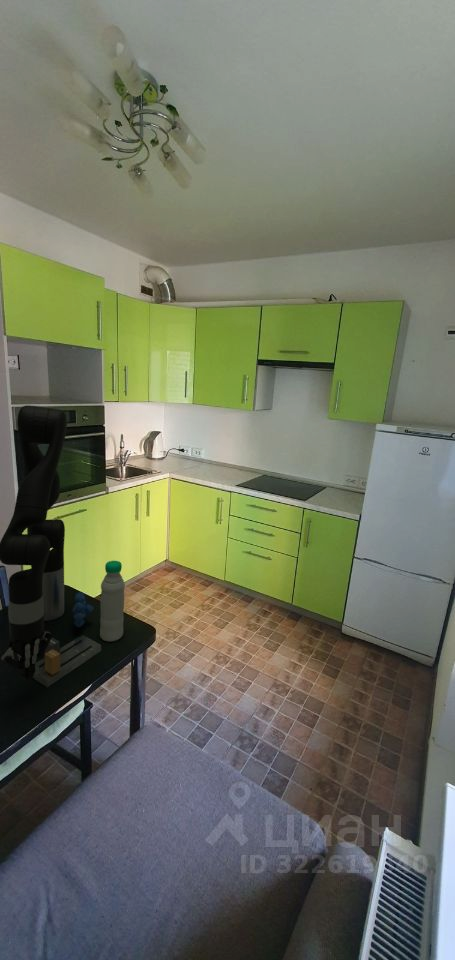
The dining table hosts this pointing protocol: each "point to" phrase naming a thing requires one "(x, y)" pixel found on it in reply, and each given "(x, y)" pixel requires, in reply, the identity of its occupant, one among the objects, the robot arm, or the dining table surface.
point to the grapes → (80, 609)
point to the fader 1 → (53, 645)
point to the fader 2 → (52, 662)
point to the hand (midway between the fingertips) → (28, 676)
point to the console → (67, 659)
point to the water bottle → (112, 602)
